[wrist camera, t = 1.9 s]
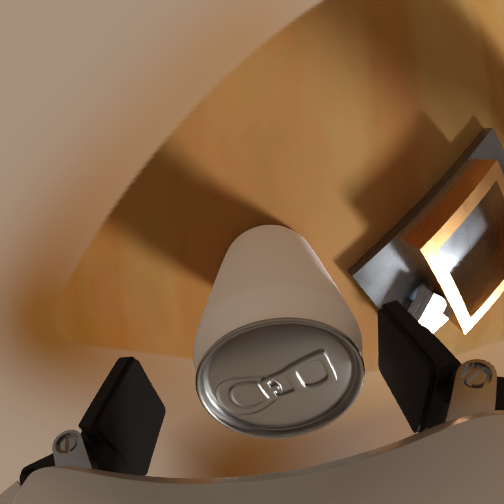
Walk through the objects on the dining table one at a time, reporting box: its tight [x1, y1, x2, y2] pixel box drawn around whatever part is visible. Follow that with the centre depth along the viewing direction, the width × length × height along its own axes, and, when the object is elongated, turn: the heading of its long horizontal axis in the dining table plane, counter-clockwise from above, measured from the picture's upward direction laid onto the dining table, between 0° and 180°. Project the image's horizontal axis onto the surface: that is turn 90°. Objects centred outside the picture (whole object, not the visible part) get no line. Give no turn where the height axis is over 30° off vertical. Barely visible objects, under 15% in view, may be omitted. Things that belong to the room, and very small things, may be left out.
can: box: [193, 225, 365, 439], centre depth 14 cm, size 6×6×12 cm
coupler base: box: [347, 128, 504, 334], centre depth 17 cm, size 18×10×4 cm, turn 134°
